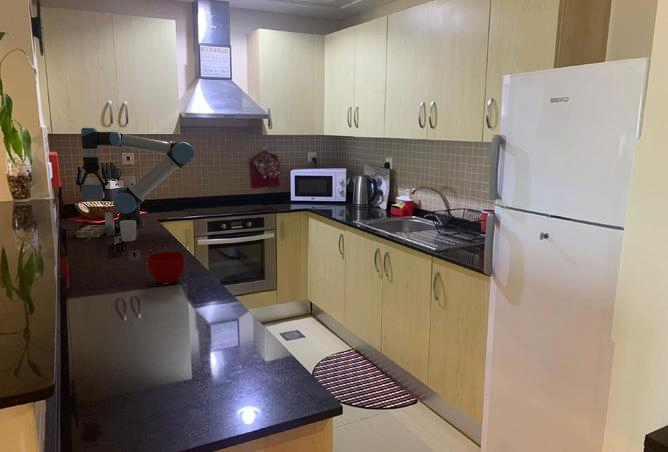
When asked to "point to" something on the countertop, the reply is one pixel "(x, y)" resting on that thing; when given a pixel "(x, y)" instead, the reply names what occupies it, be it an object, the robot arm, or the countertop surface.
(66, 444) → the countertop surface
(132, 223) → the white cup
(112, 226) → the peg
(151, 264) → the ceramic cup
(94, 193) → the slate blue cube
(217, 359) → the countertop surface
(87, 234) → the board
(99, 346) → the countertop surface
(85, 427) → the countertop surface
